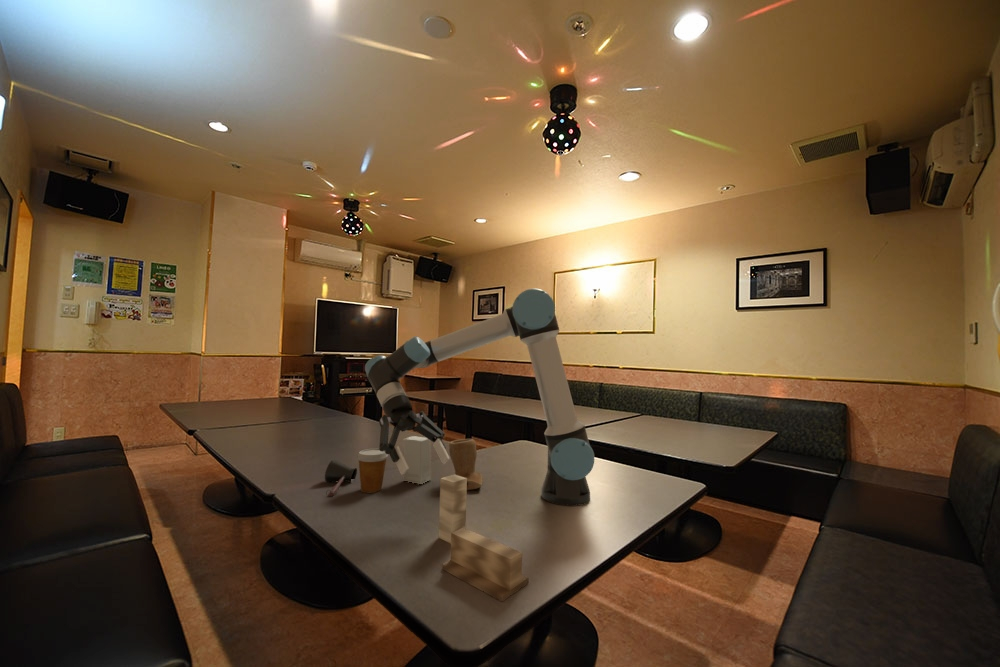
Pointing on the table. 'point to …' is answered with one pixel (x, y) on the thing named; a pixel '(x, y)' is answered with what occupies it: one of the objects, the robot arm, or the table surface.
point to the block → (452, 505)
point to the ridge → (485, 564)
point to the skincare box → (417, 459)
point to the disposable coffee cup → (371, 469)
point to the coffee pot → (338, 474)
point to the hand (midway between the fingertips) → (426, 466)
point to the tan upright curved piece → (465, 461)
